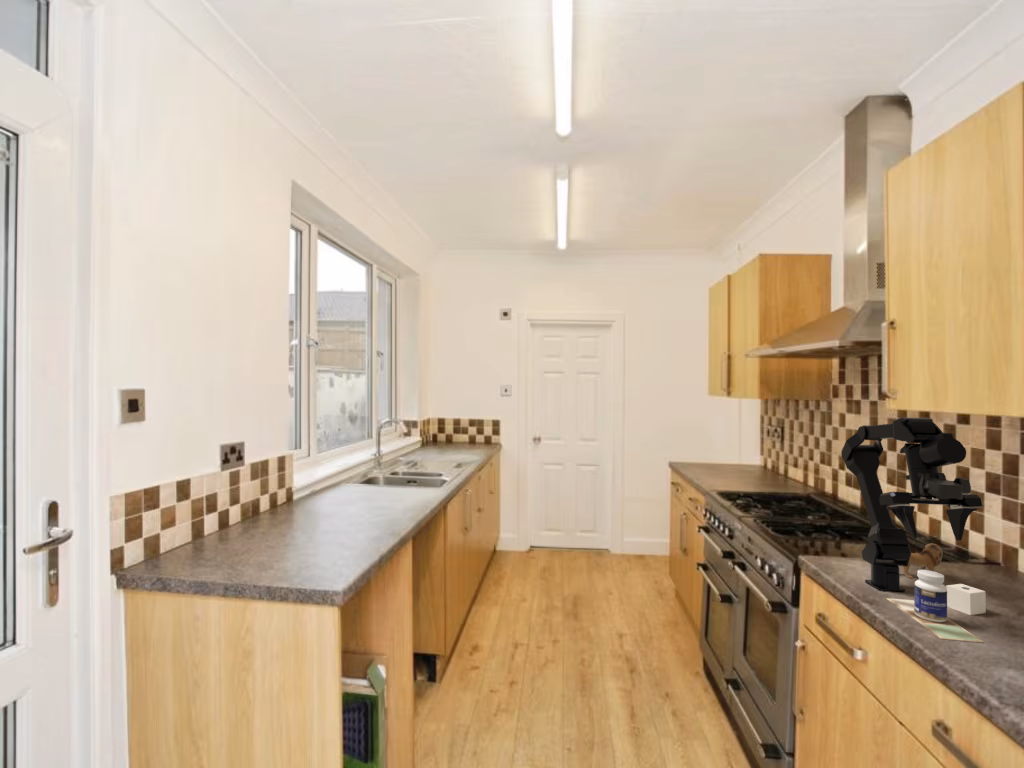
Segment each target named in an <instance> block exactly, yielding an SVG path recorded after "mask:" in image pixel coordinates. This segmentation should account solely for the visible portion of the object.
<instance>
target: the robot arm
mask: <svg viewBox="0 0 1024 768" xmlns="http://www.w3.org/2000/svg"><path fill="white" fill-rule="evenodd" d="M889 439H890V440H891V439H893V440H896V441H900V442H905V443H904V445H903V446H902V448H900V450H899V453H900V454H904V457H905V460H906V466H907V471H908V474H906V475H905V480H906V481H910V488H911V492H909V491H889V492H883V488H882V485H881V481H880V479H879V477H878V469H879V467H880V465H881V460H880V457H881V455H882V454H883V451H884V447H883V444H882V440H889ZM865 441H875V442H874V444H873V445H872V444H863V443H864V442H865ZM840 454H841V458H842V460H843V461H844V464H845V467H846V469H847V470H848V471H849V472H851V474H853V475H854V476H855V477H856V480H857V483H858V487H859V491H860V494H861V497H862V501H863V504H864V506H865V511H866V514H867V517H868V520H869V523H870V530H869V532H868V535H867V542H868V543H867V544H866V545H865V546H864V547H863V549H862V550H861V557H862V560H863V561H865V562H867V563H869V564H870V579H864V582H865V583H866V584H868V585H869V586H872V587H873V588H875V589H877V590H879V591H886V592H887V591H889V592H906V589H905V587H903V586H900V584H901V583H900V579H901V578H900V577H901V576H900V575H901V574H900V567H903V566H908V563H909V559H910V556H911V553H912V548H911V543H910V542H909V540H908V535H910V537H911V539H918V536H917V534H918V533H917V527H916V523H915V519H914V511H915V508H916V507H915V505H935V506H936V505H939V506H942V505H943V506H947V507H948V508H947V509H945V511H946V513H947V518H948V521H949V523H950V526H951V529H952V533H953V536H954V539H955V540H956V541H958V542H959V541H962V540H963V536H964V532H965V531H964V530H965V527H966V523H967V520H968V518H969V516H970V515H971V514H972V513H973V512H977V511H978V509H979V508H984V504H983V500H982V498H981V497H980V496H979V495H978V494H973V493H972V494H971V492H972V486H971V483H970V479H968V478H964V477H955V478H954V480H948V479H947V477H946V475H945V473H944V472H940V467H945V466H949V465H955V464H959V463H961V462H964V460H965V459H966V457H967V450H966V447H964V445H963V444H962V442H960V441H959V440H957V439H956V438H954V437H953V433H951V432H943V430H941V428H940V427H939V426H938V425H937V424H936V423H934V420H933V418H932V417H931V418H930V417H899V418H897V419H894V420H893V421H892V422H891V423H886V424H885V423H884V424H876V425H874V424H873V425H869V424H868V425H862V426H858V429H857V431H856V432H855V433H854V434H853V435H852V436H850V437H849V438H847V439H846V441H845V442H844V445H843V447H842V449H841V453H840ZM914 504H915V505H914ZM890 511H891V512H892V513H893V515H894V516H895V517H896V518H897V519H898V520H899V521H900V523H901V524H902V526H903V528H898V527H897V526H896V525H895V524H894V523H893V520H892V516H891V513H890ZM905 530H906V531H907V532H906V531H905ZM907 533H908V535H907Z"/></svg>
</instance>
